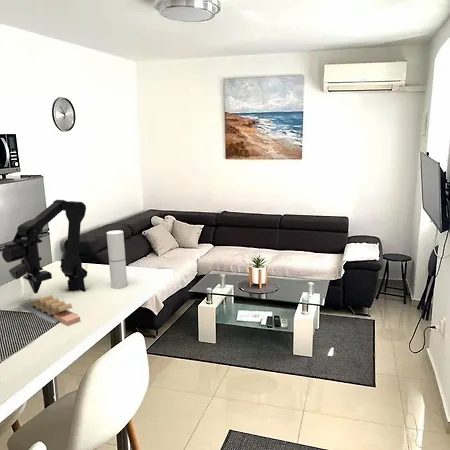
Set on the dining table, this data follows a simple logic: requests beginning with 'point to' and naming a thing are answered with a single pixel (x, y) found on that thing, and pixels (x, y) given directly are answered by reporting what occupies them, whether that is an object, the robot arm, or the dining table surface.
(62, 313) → the terracotta domino
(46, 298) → the domino
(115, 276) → the cylindrical container
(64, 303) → the domino
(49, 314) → the domino
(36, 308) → the domino
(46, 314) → the mat
